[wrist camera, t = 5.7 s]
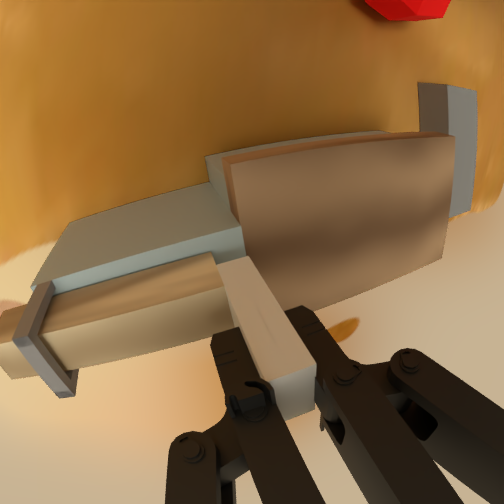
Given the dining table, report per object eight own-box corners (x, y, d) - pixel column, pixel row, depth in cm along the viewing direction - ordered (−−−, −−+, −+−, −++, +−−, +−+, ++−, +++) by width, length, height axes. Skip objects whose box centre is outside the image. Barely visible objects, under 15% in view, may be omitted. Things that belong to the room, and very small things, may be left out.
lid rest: (417, 82, 22) (447, 84, 19) (449, 87, 24) (476, 90, 20) (417, 207, 29) (442, 220, 26) (446, 198, 31) (470, 210, 27)
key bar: (3, 311, 12) (-15, 347, 9) (210, 251, 14) (224, 286, 11) (24, 342, 13) (11, 379, 10) (220, 291, 15) (235, 329, 13)
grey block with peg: (69, 222, 20) (4, 341, 8) (209, 181, 22) (272, 269, 11) (87, 266, 22) (52, 399, 10) (219, 229, 24) (281, 345, 13)
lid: (221, 157, 14) (230, 164, 13) (435, 131, 17) (455, 136, 16) (249, 310, 19) (259, 329, 18) (425, 247, 22) (441, 258, 21)
